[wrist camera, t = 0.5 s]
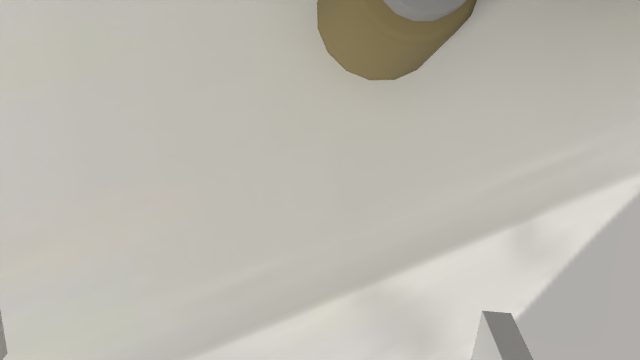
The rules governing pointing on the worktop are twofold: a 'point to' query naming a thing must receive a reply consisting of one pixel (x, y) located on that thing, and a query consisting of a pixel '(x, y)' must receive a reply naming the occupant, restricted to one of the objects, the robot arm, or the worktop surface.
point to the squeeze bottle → (388, 33)
